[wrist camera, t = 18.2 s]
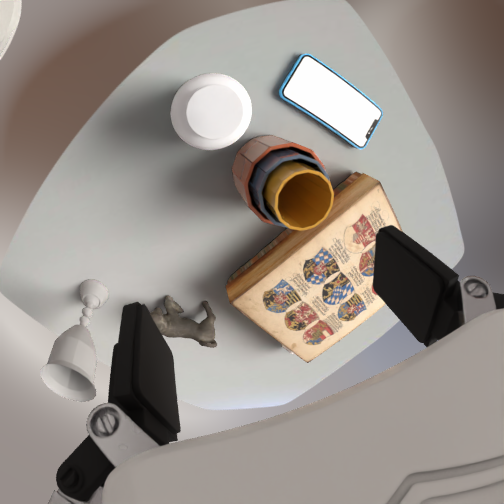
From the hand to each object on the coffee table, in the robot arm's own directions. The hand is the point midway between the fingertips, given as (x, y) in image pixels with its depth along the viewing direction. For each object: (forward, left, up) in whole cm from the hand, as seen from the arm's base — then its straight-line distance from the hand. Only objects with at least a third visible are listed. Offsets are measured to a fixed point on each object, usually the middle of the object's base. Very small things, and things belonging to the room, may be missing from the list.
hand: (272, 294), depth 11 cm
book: (+24, +15, -29) cm, 40 cm away
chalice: (+15, -22, -29) cm, 39 cm away
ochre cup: (+4, +7, -28) cm, 29 cm away
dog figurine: (+22, -10, -29) cm, 37 cm away
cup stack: (+4, +8, -29) cm, 30 cm away
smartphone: (-4, +19, -29) cm, 35 cm away
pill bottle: (-6, +1, -29) cm, 29 cm away
